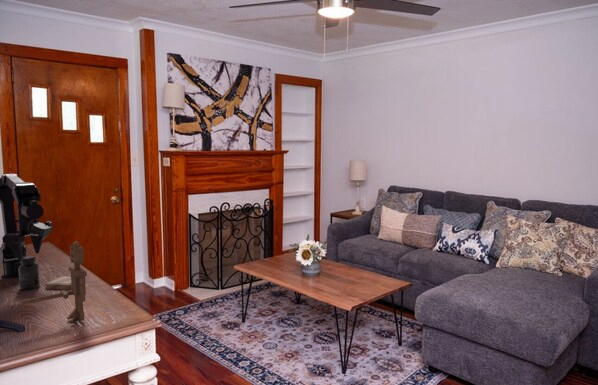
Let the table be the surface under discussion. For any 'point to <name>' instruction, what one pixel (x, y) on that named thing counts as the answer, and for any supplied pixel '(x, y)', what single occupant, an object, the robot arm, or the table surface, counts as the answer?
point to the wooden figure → (76, 283)
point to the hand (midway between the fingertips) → (29, 256)
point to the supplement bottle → (29, 273)
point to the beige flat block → (60, 283)
